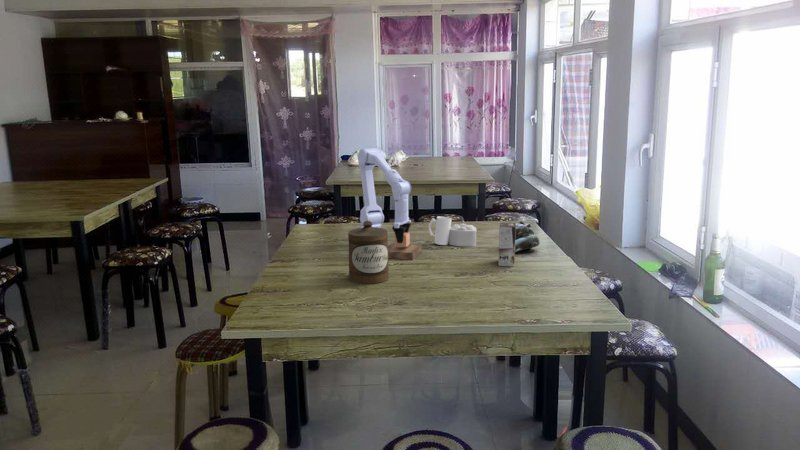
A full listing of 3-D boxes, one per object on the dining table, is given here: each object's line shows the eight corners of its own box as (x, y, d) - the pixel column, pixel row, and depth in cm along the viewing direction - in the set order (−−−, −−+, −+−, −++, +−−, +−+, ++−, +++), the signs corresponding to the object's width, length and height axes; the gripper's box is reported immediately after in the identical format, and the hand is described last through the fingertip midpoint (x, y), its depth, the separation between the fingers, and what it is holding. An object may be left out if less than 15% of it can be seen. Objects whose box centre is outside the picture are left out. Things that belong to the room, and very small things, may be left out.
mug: (449, 243, 295) (453, 218, 293) (446, 246, 288) (450, 220, 286) (428, 240, 297) (431, 214, 295) (425, 242, 291) (428, 216, 289)
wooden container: (353, 285, 232) (352, 226, 227) (345, 274, 246) (344, 218, 241) (393, 282, 236) (392, 223, 231) (383, 271, 250) (382, 216, 245)
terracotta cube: (395, 246, 272) (394, 234, 271) (398, 243, 277) (398, 232, 276) (406, 246, 271) (406, 235, 270) (409, 244, 276) (409, 232, 275)
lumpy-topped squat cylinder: (475, 246, 288) (476, 227, 286) (446, 245, 289) (447, 226, 287) (475, 241, 298) (476, 223, 296) (447, 240, 299) (448, 222, 297)
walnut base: (381, 257, 271) (380, 250, 270) (391, 249, 284) (391, 243, 283) (412, 260, 266) (412, 253, 266) (422, 252, 279) (422, 245, 279)
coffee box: (514, 266, 255) (515, 227, 252) (498, 266, 256) (499, 226, 253) (515, 260, 264) (516, 222, 261) (499, 260, 265) (500, 221, 262)
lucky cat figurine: (507, 254, 274) (498, 223, 277) (507, 258, 285) (498, 229, 289) (541, 244, 272) (532, 214, 276) (540, 249, 284) (530, 219, 287)
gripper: (405, 213, 263) (405, 245, 266) (415, 207, 276) (415, 238, 279) (389, 212, 265) (389, 244, 268) (400, 206, 279) (400, 237, 281)
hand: (401, 241), depth 274 cm, fingers closed on terracotta cube, 5 cm apart
